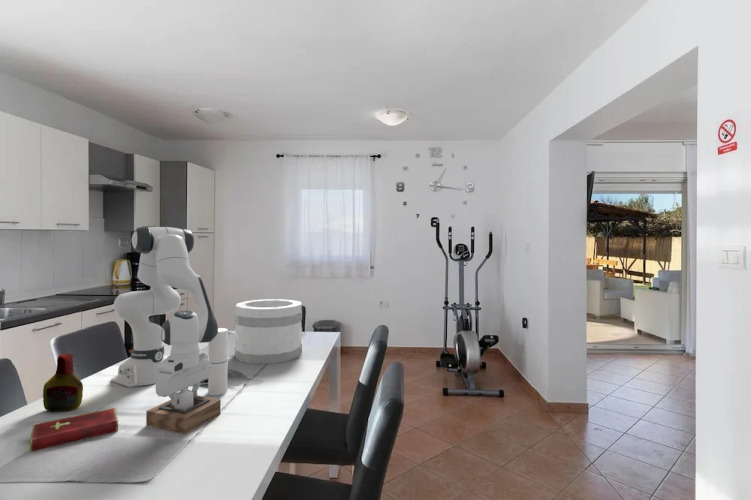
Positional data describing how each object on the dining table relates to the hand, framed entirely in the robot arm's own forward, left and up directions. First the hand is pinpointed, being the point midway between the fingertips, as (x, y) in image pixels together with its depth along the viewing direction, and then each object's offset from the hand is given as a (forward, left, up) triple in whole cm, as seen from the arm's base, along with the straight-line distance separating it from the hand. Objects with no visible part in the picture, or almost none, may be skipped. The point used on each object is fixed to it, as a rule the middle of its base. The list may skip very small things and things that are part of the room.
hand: (184, 400), depth 133 cm
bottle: (-46, -9, -7) cm, 47 cm away
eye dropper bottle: (0, 0, -5) cm, 5 cm away
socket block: (0, 0, -7) cm, 7 cm away
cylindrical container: (-7, +24, -7) cm, 26 cm away
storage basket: (-19, +77, -7) cm, 80 cm away
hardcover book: (-24, -19, -7) cm, 32 cm away
